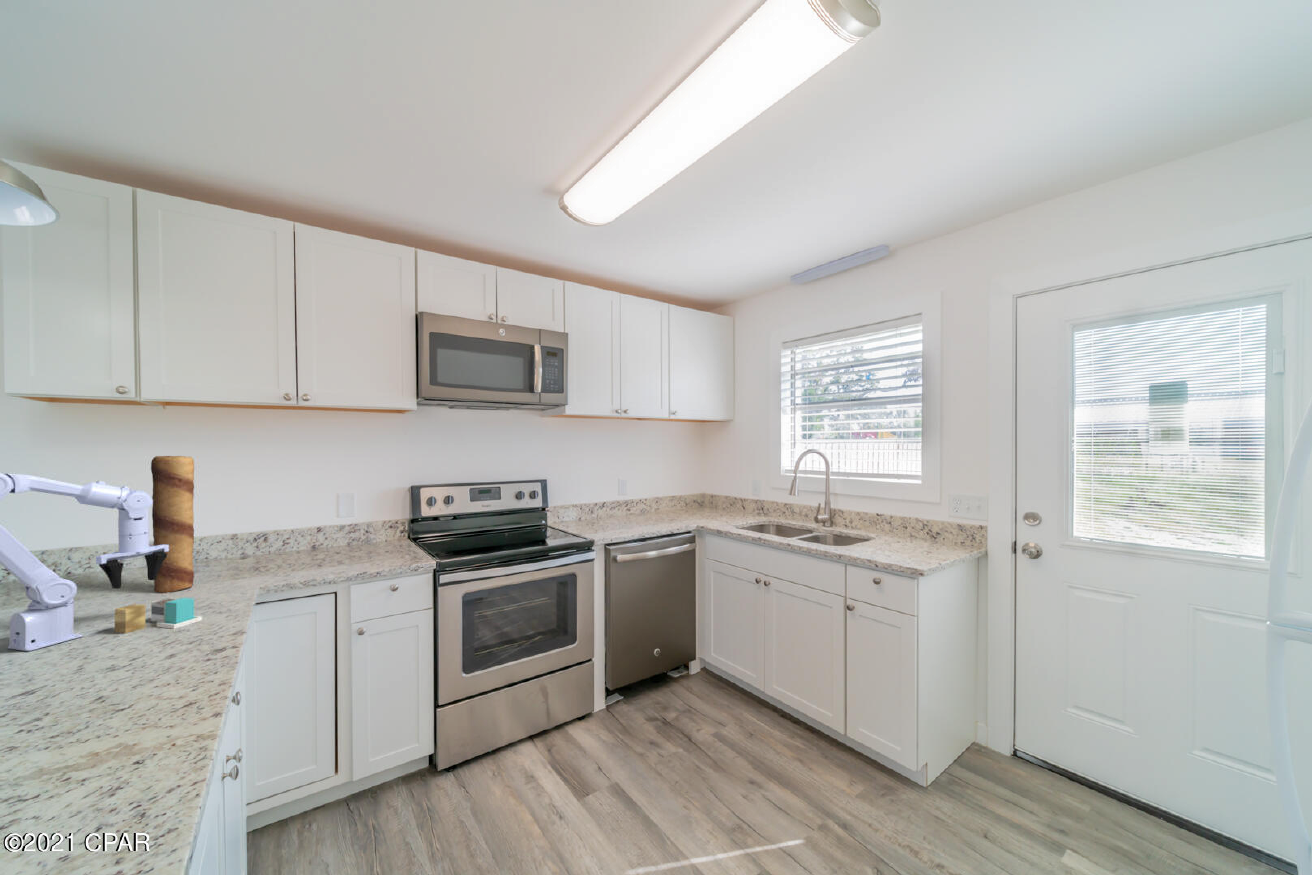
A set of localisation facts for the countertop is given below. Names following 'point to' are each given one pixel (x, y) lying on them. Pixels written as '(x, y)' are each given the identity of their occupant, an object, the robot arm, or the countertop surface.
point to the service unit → (159, 611)
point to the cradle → (173, 626)
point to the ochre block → (129, 618)
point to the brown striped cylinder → (173, 520)
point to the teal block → (179, 610)
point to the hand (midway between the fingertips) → (134, 583)
